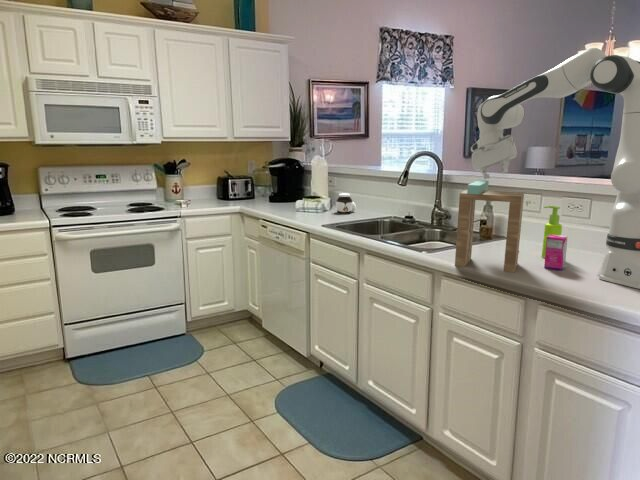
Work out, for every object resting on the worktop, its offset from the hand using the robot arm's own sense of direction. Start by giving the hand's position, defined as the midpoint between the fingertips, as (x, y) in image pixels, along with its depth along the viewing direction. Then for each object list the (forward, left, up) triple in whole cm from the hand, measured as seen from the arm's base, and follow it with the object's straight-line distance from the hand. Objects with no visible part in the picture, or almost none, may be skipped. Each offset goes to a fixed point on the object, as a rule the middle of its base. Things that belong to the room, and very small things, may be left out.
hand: (495, 175), depth 191 cm
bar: (-10, +15, -5) cm, 19 cm away
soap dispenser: (-15, -16, -31) cm, 38 cm away
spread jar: (+118, +14, -31) cm, 123 cm away
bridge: (-17, +15, -31) cm, 38 cm away
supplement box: (-28, -6, -31) cm, 42 cm away
